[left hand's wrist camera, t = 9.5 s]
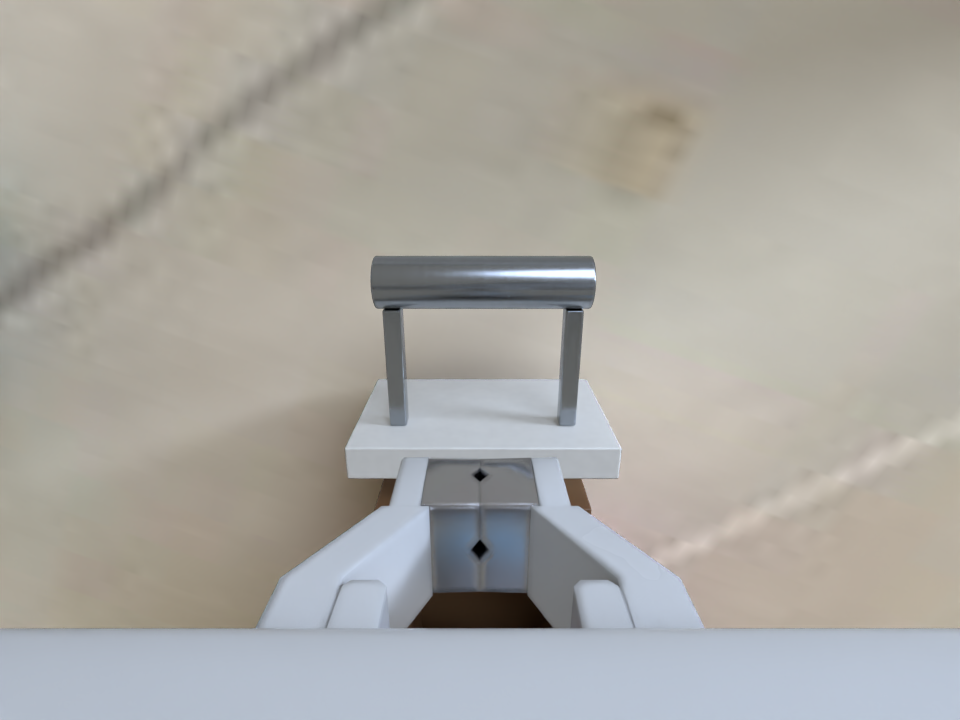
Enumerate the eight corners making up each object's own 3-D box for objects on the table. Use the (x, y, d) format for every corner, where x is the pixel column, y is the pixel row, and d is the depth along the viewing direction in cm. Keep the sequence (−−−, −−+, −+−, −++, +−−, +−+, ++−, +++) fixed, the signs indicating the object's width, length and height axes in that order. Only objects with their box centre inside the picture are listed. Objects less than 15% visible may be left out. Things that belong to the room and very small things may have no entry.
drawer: (367, 239, 20) (324, 266, 15) (597, 239, 20) (642, 266, 15) (397, 640, 28) (376, 759, 22) (566, 640, 28) (587, 759, 22)
